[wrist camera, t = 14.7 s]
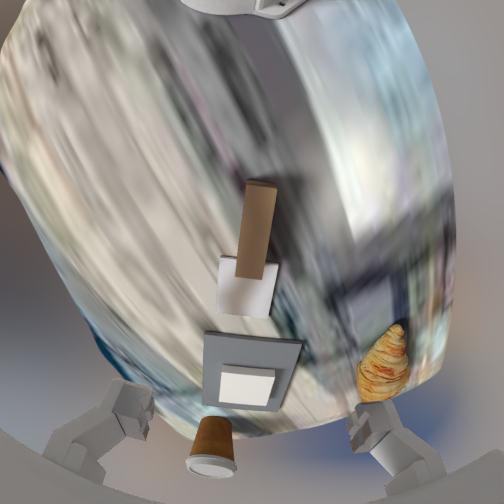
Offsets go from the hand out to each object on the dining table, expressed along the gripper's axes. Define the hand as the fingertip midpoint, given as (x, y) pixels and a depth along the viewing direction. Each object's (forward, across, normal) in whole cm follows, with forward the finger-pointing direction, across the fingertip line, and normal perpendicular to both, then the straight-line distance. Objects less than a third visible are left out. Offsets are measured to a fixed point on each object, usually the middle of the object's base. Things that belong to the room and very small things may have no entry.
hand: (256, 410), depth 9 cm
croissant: (+24, -25, +22) cm, 41 cm away
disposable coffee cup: (+24, +2, +42) cm, 49 cm away
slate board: (+24, -2, +26) cm, 35 cm away
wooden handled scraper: (+24, 0, +4) cm, 24 cm away
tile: (+22, -2, +22) cm, 31 cm away
